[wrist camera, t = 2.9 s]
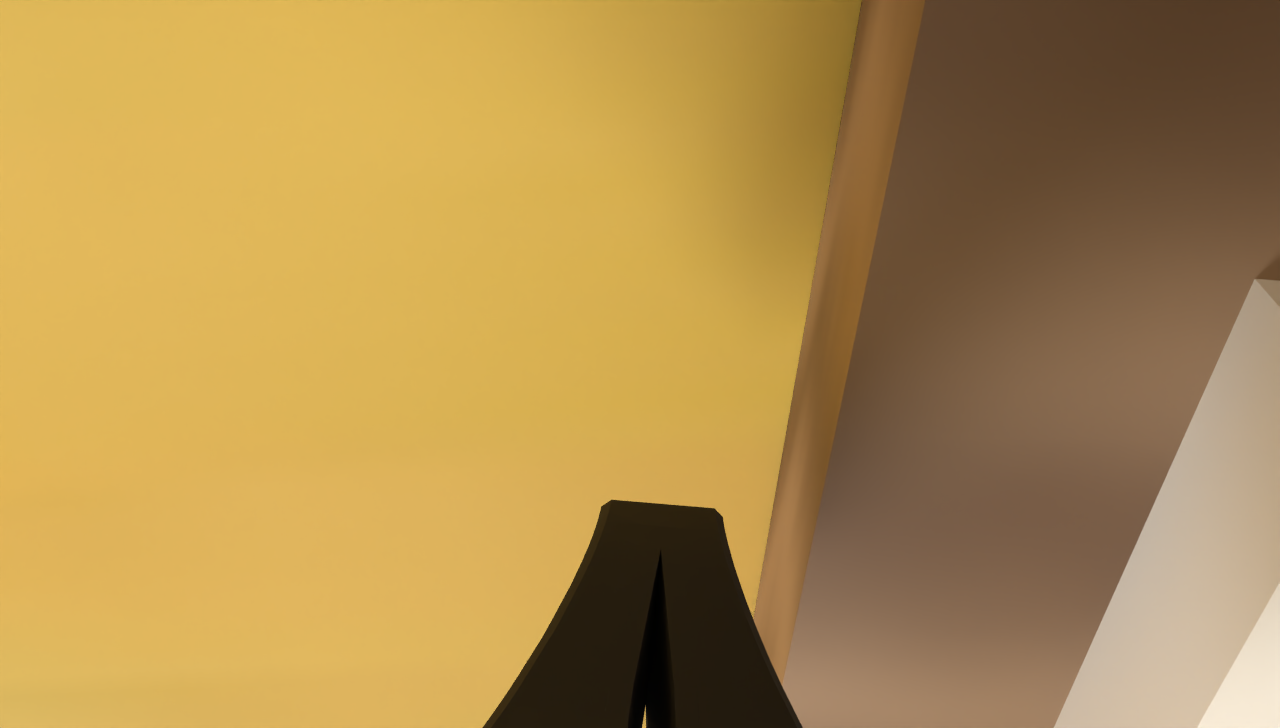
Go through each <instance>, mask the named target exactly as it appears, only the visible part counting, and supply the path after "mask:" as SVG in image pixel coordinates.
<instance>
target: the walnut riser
mask: <svg viewBox="0 0 1280 728" xmlns="http://www.w3.org/2000/svg"><path fill="white" fill-rule="evenodd" d="M1254 279H1265V280H1277V281H1280V0H862V4H861V10H860V15H859V21H858V27H857V32H856V38H855V44H854V50H853V55H852V61H851V67H850V72H849V78H848V84H847V89H846V95H845V101H844V107H843V112H842V118H841V124H840V129H839V135H838V141H837V146H836V152H835V158H834V164H833V169H832V175H831V181H830V186H829V192H828V198H827V203H826V209H825V215H824V220H823V226H822V232H821V238H820V243H819V249H818V255H817V260H816V266H815V272H814V277H813V283H812V289H811V295H810V300H809V306H808V312H807V317H806V323H805V329H804V334H803V340H802V346H801V352H800V357H799V363H798V369H797V374H796V380H795V386H794V391H793V397H792V403H791V408H790V414H789V420H788V426H787V431H786V437H785V443H784V448H783V454H782V460H781V465H780V471H779V477H778V483H777V488H776V494H775V500H774V505H773V511H772V517H771V522H770V528H769V534H768V540H767V545H766V551H765V557H764V562H763V568H762V574H761V579H760V585H759V591H758V597H757V602H756V608H755V614H754V619H753V620H754V623H755V625H756V627H757V630H758V632H759V635H760V637H761V639H762V642H763V644H764V647H765V649H766V651H767V654H768V656H769V658H770V661H771V663H772V665H773V667H774V670H775V672H776V674H777V676H778V678H779V680H780V683H781V685H782V687H783V689H784V691H785V693H786V695H787V697H788V699H789V701H790V703H791V705H792V707H793V709H794V711H795V713H796V715H797V717H798V719H799V721H800V723H801V725H802V727H803V728H1054V726H1055V724H1056V722H1057V719H1058V717H1059V715H1060V713H1061V710H1062V708H1063V706H1064V704H1065V702H1066V699H1067V697H1068V695H1069V693H1070V690H1071V688H1072V686H1073V684H1074V681H1075V679H1076V677H1077V675H1078V672H1079V670H1080V668H1081V666H1082V664H1083V661H1084V659H1085V657H1086V655H1087V652H1088V650H1089V648H1090V646H1091V643H1092V641H1093V639H1094V637H1095V634H1096V632H1097V630H1098V628H1099V626H1100V623H1101V621H1102V619H1103V617H1104V614H1105V612H1106V610H1107V608H1108V605H1109V603H1110V601H1111V599H1112V596H1113V594H1114V592H1115V590H1116V588H1117V585H1118V583H1119V581H1120V579H1121V576H1122V574H1123V572H1124V570H1125V567H1126V565H1127V563H1128V561H1129V559H1130V556H1131V554H1132V552H1133V550H1134V547H1135V545H1136V543H1137V541H1138V538H1139V536H1140V534H1141V532H1142V529H1143V527H1144V525H1145V523H1146V521H1147V518H1148V516H1149V514H1150V512H1151V509H1152V507H1153V505H1154V503H1155V500H1156V498H1157V496H1158V494H1159V491H1160V489H1161V487H1162V485H1163V483H1164V480H1165V478H1166V476H1167V474H1168V471H1169V469H1170V467H1171V465H1172V462H1173V460H1174V458H1175V456H1176V453H1177V451H1178V449H1179V447H1180V445H1181V442H1182V440H1183V438H1184V436H1185V433H1186V431H1187V429H1188V427H1189V424H1190V422H1191V420H1192V418H1193V415H1194V413H1195V411H1196V409H1197V407H1198V404H1199V402H1200V400H1201V398H1202V395H1203V393H1204V391H1205V389H1206V386H1207V384H1208V382H1209V380H1210V377H1211V375H1212V373H1213V371H1214V369H1215V366H1216V364H1217V362H1218V360H1219V357H1220V355H1221V353H1222V351H1223V348H1224V346H1225V344H1226V342H1227V339H1228V337H1229V335H1230V333H1231V331H1232V328H1233V326H1234V324H1235V322H1236V319H1237V317H1238V315H1239V313H1240V310H1241V308H1242V306H1243V304H1244V302H1245V299H1246V297H1247V295H1248V293H1249V290H1250V288H1251V286H1252V284H1253V281H1254Z"/></svg>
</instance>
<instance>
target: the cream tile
mask: <svg viewBox="0 0 1280 728" xmlns="http://www.w3.org/2000/svg"><path fill="white" fill-rule="evenodd" d="M1054 728H1280V281H1277V280H1265V279H1254V281H1253V284H1252V286H1251V288H1250V290H1249V293H1248V295H1247V297H1246V299H1245V302H1244V304H1243V306H1242V308H1241V310H1240V313H1239V315H1238V317H1237V319H1236V322H1235V324H1234V326H1233V328H1232V331H1231V333H1230V335H1229V337H1228V339H1227V342H1226V344H1225V346H1224V348H1223V351H1222V353H1221V355H1220V357H1219V360H1218V362H1217V364H1216V366H1215V369H1214V371H1213V373H1212V375H1211V377H1210V380H1209V382H1208V384H1207V386H1206V389H1205V391H1204V393H1203V395H1202V398H1201V400H1200V402H1199V404H1198V407H1197V409H1196V411H1195V413H1194V415H1193V418H1192V420H1191V422H1190V424H1189V427H1188V429H1187V431H1186V433H1185V436H1184V438H1183V440H1182V442H1181V445H1180V447H1179V449H1178V451H1177V453H1176V456H1175V458H1174V460H1173V462H1172V465H1171V467H1170V469H1169V471H1168V474H1167V476H1166V478H1165V480H1164V483H1163V485H1162V487H1161V489H1160V491H1159V494H1158V496H1157V498H1156V500H1155V503H1154V505H1153V507H1152V509H1151V512H1150V514H1149V516H1148V518H1147V521H1146V523H1145V525H1144V527H1143V529H1142V532H1141V534H1140V536H1139V538H1138V541H1137V543H1136V545H1135V547H1134V550H1133V552H1132V554H1131V556H1130V559H1129V561H1128V563H1127V565H1126V567H1125V570H1124V572H1123V574H1122V576H1121V579H1120V581H1119V583H1118V585H1117V588H1116V590H1115V592H1114V594H1113V596H1112V599H1111V601H1110V603H1109V605H1108V608H1107V610H1106V612H1105V614H1104V617H1103V619H1102V621H1101V623H1100V626H1099V628H1098V630H1097V632H1096V634H1095V637H1094V639H1093V641H1092V643H1091V646H1090V648H1089V650H1088V652H1087V655H1086V657H1085V659H1084V661H1083V664H1082V666H1081V668H1080V670H1079V672H1078V675H1077V677H1076V679H1075V681H1074V684H1073V686H1072V688H1071V690H1070V693H1069V695H1068V697H1067V699H1066V702H1065V704H1064V706H1063V708H1062V710H1061V713H1060V715H1059V717H1058V719H1057V722H1056V724H1055V726H1054Z"/></svg>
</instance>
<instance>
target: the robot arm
mask: <svg viewBox="0 0 1280 728" xmlns="http://www.w3.org/2000/svg"><path fill="white" fill-rule="evenodd" d="M645 705H646V728H803V727H802V725H801V723H800V721H799V719H798V717H797V715H796V713H795V711H794V709H793V707H792V705H791V703H790V701H789V699H788V697H787V695H786V693H785V691H784V689H783V687H782V685H781V683H780V680H779V678H778V676H777V674H776V672H775V670H774V667H773V665H772V663H771V661H770V658H769V656H768V654H767V651H766V649H765V647H764V644H763V642H762V639H761V637H760V635H759V632H758V630H757V627H756V625H755V623H754V620H753V618H752V615H751V613H750V610H749V607H748V605H747V602H746V599H745V597H744V594H743V591H742V588H741V585H740V582H739V579H738V576H737V573H736V570H735V567H734V564H733V560H732V557H731V553H730V550H729V546H728V542H727V538H726V533H725V529H724V523H723V517H722V516H721V515H720V514H719V513H718V512H717V511H716V510H715V509H714V508H702V507H690V506H678V505H667V504H655V503H643V502H631V501H619V500H611V501H609V502H608V503H606V504H605V505H603V506H602V507H601V511H600V515H599V519H598V522H597V525H596V528H595V531H594V534H593V536H592V539H591V542H590V544H589V547H588V549H587V551H586V554H585V556H584V558H583V561H582V563H581V565H580V567H579V569H578V571H577V573H576V575H575V578H574V580H573V582H572V584H571V586H570V588H569V590H568V591H567V593H566V595H565V597H564V599H563V601H562V603H561V604H560V606H559V608H558V610H557V612H556V614H555V616H554V617H553V619H552V621H551V623H550V625H549V627H548V628H547V630H546V632H545V634H544V635H543V637H542V639H541V640H540V642H539V644H538V645H537V647H536V648H535V650H534V652H533V653H532V655H531V656H530V658H529V660H528V661H527V663H526V664H525V666H524V667H523V669H522V671H521V672H520V674H519V675H518V677H517V678H516V680H515V682H514V683H513V685H512V686H511V688H510V689H509V691H508V692H507V694H506V695H505V697H504V698H503V700H502V701H501V703H500V704H499V705H498V707H497V708H496V710H495V711H494V713H493V714H492V716H491V717H490V718H489V720H488V721H487V722H486V724H485V725H484V727H483V728H642V724H643V718H644V711H645Z"/></svg>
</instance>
